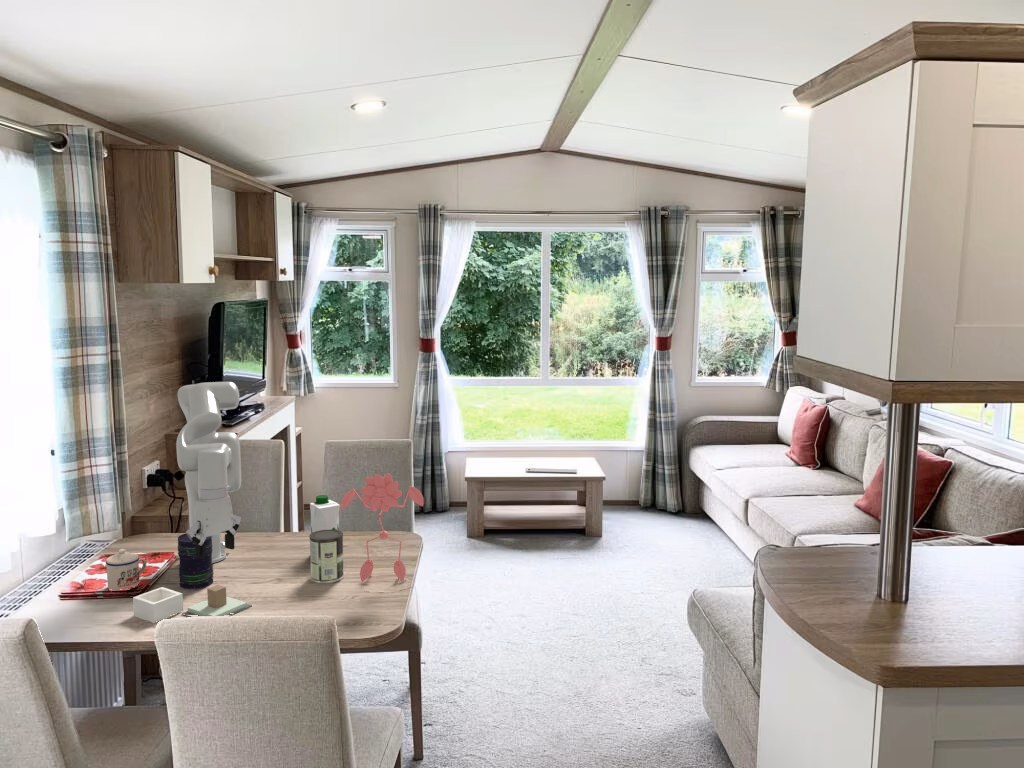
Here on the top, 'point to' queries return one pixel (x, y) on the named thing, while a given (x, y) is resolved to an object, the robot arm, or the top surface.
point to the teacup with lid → (123, 570)
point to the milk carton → (324, 514)
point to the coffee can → (326, 556)
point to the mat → (228, 614)
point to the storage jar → (194, 564)
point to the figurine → (382, 496)
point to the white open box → (157, 604)
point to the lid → (217, 603)
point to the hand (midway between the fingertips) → (215, 553)
